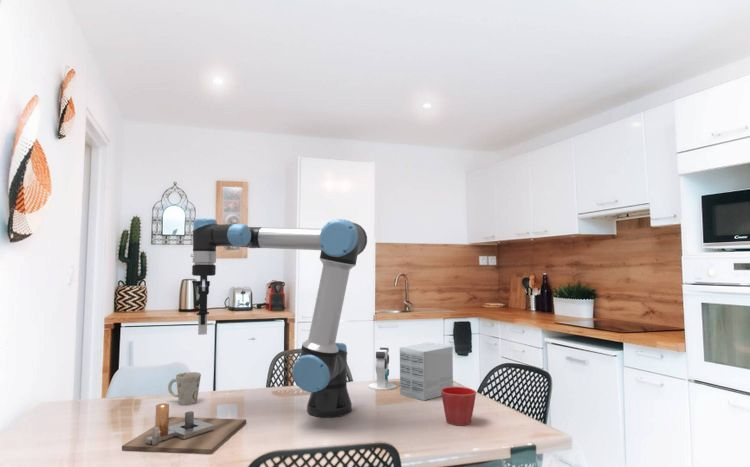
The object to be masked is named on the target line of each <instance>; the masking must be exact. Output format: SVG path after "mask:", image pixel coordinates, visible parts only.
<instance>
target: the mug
mask: <svg viewBox="0 0 750 467" xmlns="http://www.w3.org/2000/svg"><path fill="white" fill-rule="evenodd" d="M201 376H202V374H201V373H200V372H197V371H191V372H190V371H189V372H188V371H187V372H182V373H178V374H176V375H175V378H172V379H171V380H170V381H169V382H168V385H167V390H168V393H169V394H170V395H172V397H174V398H178V404H179V405H182V406H187V405H188V406H190V405H193V404H196V403H197V401H198V397H199V389H200V382H201ZM174 383H176V389H177V394H176V393H174V391H173V390H172V389H173V388H172V386H173V384H174Z"/></svg>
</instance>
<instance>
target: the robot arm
mask: <svg viewBox="0 0 750 467" xmlns="http://www.w3.org/2000/svg"><path fill="white" fill-rule="evenodd" d="M367 244H368V236H367V232H366V231H365V229H364V228H363V226H362V225H360V224H358V223H356V222H352V221H351V220H347V219H343V218H342V219H340V218H339V219H332V220H331V221H328V222H327V223H326V224H325V225H324V226H323V227H322V228H309V227H307V228H306V227H305V228H304V227H302V228H301V227H266V226H265V227H263V226H262V227H260V226H257V227H256V226H248V225H247V224H246V223H226V224H220V223H217V220H216V219H215V218H201V217H200V218H199V217H198V218H196V219H194V221H193V229H192V254H190V257H191V258H192V263H193V265H191V268H192V271H191V275H192V276H193V277H195V276H196V277H198V276H199V279H200V280H198V281H197V285H196V286H197V294H198V296H199V302H198V303H199V306H198V308H199V309H198V312H196V316H198V321H197V322H198V324H197V325H198V328H197V329H198V330H197V334H198V336H199V335H202V336H203V335H208V334H207V333H208V315H210V311H208V295H209V292H210V286H211V281H210V280H208V277H209V276H210V277H211V276H215V275H216V272H217V271H216V270H217V268H216V267H217V266H216V262H217V247H234V248H248V249H280V250H281V249H283V250H304V251H305V250H306V251H307V250H309V251H320V256H319V261H320V262H321V263H322V270H321V274H320V279H319V283H318V284H319V285H318V289H317V292H316V293H317V294H316V300H315V305H314V308H313V314H312V319H311V324H310V327H309V328H310V329H309V334H308V339H306V340H305V341H303V342H302V345H301V350H300V353H299V357H298V358H297V359H296V360H295V361H294V364H293V366H292V370H291V372H292V373H291V374H292V378H293V381H294V382H295V384H296V386H297V387H298V388H299V389H301V390H303V391H304V392H305V393H306V392H308V393H310V395H309V398H308V402H307V405H306V412H307V414H309V415H311V416H314V417H318V418H336V417H338V418H339V417H342V416H346V415H348V414H350V413H351V412H352V410H353V407H352V405H353V403H352V400H351V397H350V394H349V391H348V388H347V382H348V381H347V379H348V376H347V373H348V371H347V370H348V366H347V364H348V362H347V360H348V359H347V358H348V350H347V349H348V348H347V345H346V344H345V343H343V342H336V341H337V337H338V331H339V330H338V329H339V327H340V326H339V325H340V320H341V317H342V316H341V315H342V312H343V311H342V310H343V306H344V302H345V301H344V300H345V295H346V290H347V286H348V281H349V275H350V272H351V269H352V268H354V267H356V265H357V262H358V261H357V259H358V255H360V254H362V253H363V252H364V250H366V247H367Z"/></svg>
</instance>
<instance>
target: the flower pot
mask: <svg viewBox="0 0 750 467" xmlns="http://www.w3.org/2000/svg"><path fill="white" fill-rule="evenodd" d="M441 394H442V396H441V399H442V404H443V410H444V415H445V416H444V417H445V420H446V423H448V424H450V425H455V426H467V425H470V424H471V423H472V418H473V413H474V408H475V403H476V402H475V400H476V395H477V392H476V390H474V389H472V388H468V387H462V386H453V387H447V388H443V389H442V390H441Z"/></svg>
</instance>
